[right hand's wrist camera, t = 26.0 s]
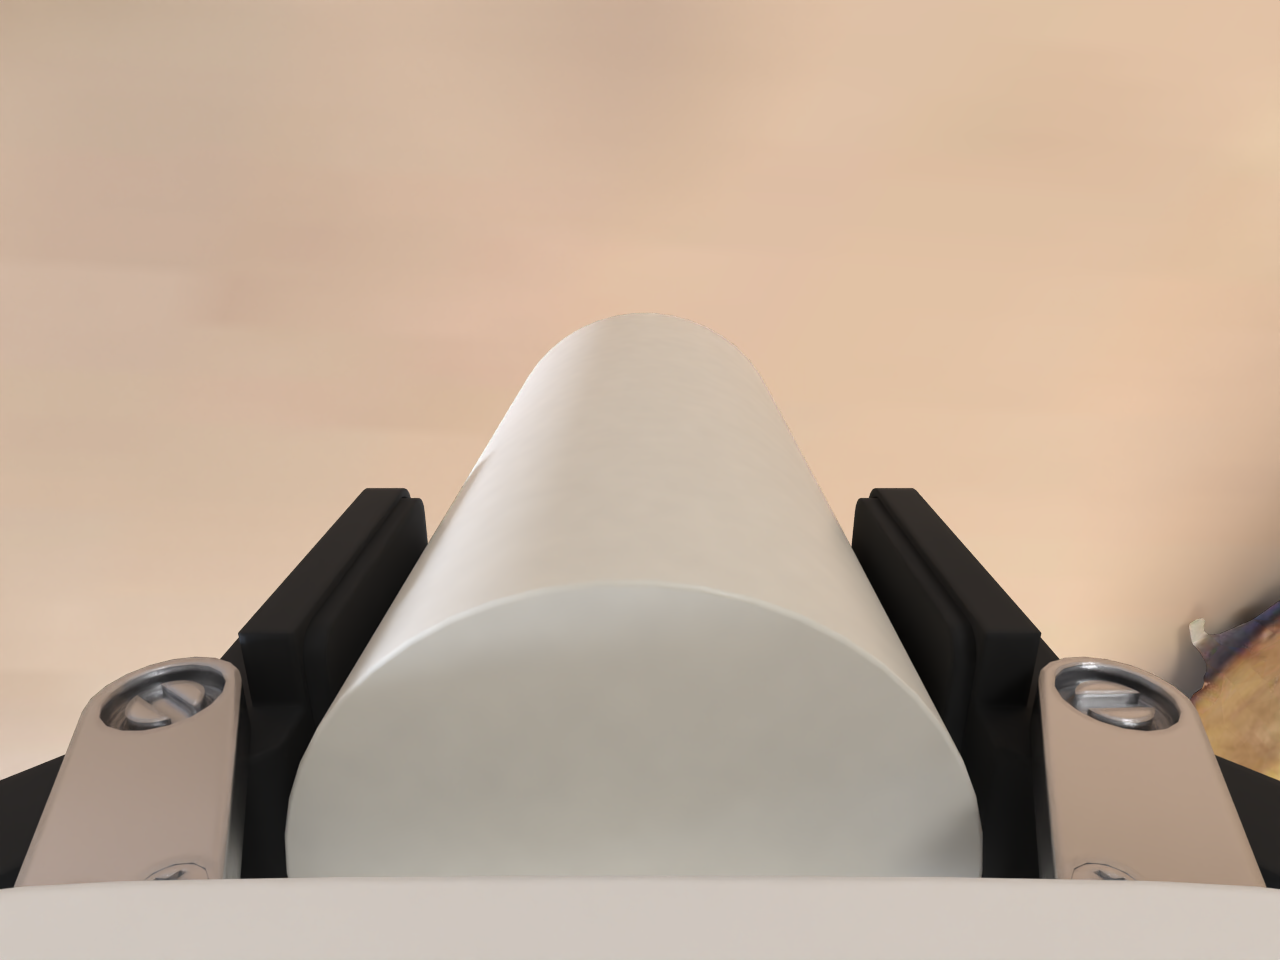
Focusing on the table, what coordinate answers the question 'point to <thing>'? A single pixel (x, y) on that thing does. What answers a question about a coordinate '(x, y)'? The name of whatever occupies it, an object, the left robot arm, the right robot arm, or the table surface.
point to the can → (636, 656)
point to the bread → (1242, 691)
